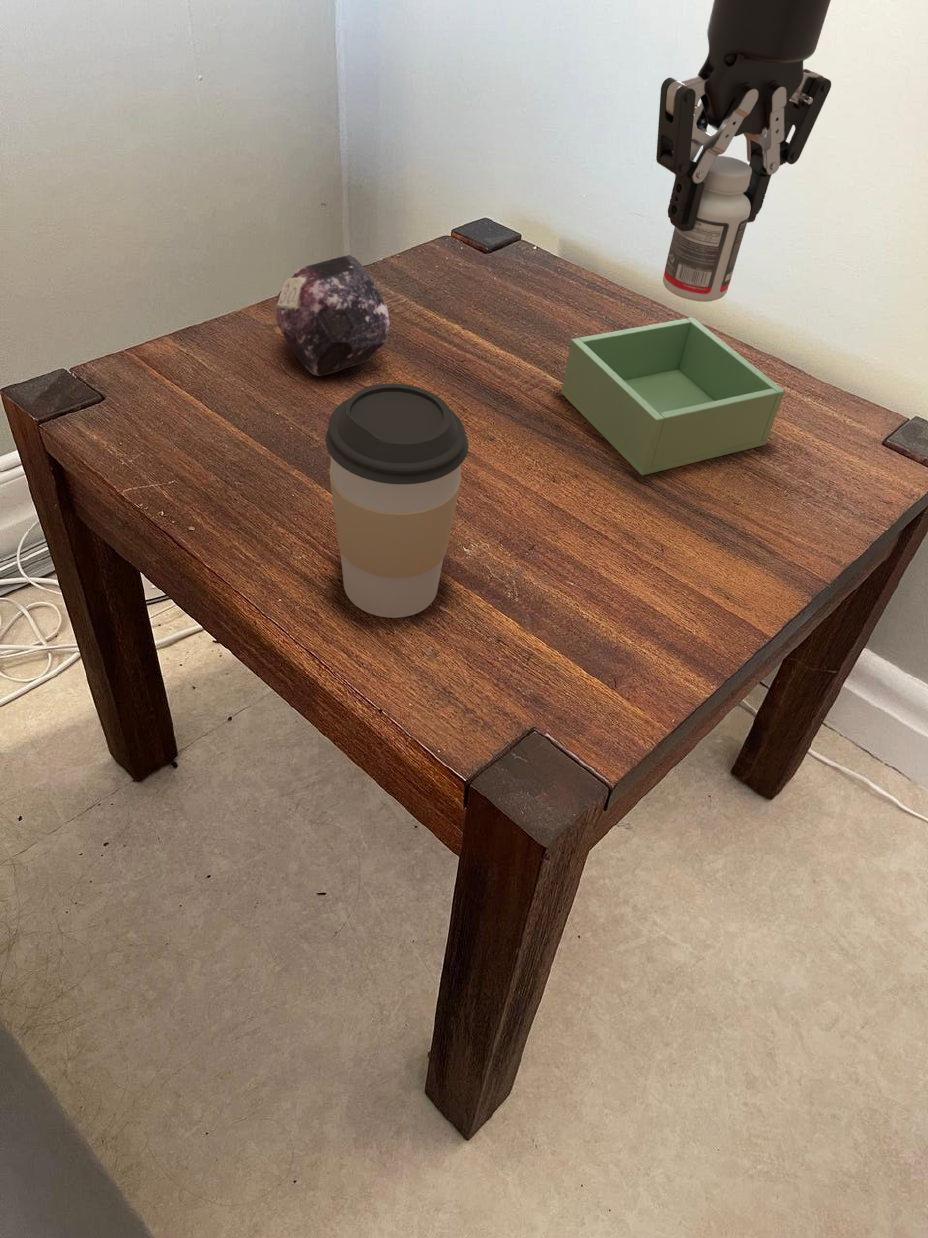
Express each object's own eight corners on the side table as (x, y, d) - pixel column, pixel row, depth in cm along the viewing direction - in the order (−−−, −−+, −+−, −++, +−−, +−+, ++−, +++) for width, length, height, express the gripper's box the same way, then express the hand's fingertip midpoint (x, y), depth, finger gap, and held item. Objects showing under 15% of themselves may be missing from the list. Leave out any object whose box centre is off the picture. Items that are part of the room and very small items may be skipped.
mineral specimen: (276, 307, 94) (315, 217, 88) (372, 360, 96) (417, 277, 90) (246, 354, 87) (286, 260, 80) (350, 411, 89) (397, 324, 83)
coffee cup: (403, 528, 75) (412, 354, 64) (478, 595, 70) (501, 419, 60) (303, 573, 70) (296, 393, 60) (377, 647, 66) (383, 467, 55)
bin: (678, 369, 96) (692, 316, 92) (765, 444, 88) (785, 390, 84) (561, 393, 91) (570, 338, 87) (641, 475, 83) (656, 419, 79)
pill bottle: (698, 268, 82) (730, 148, 76) (740, 297, 79) (777, 174, 72) (648, 278, 80) (676, 155, 73) (688, 308, 77) (722, 182, 70)
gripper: (729, -15, 59) (664, 254, 71) (899, -19, 64) (813, 232, 76) (658, -45, 64) (609, 213, 76) (823, -47, 69) (753, 195, 81)
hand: (712, 221), depth 76 cm, fingers closed on pill bottle, 5 cm apart
